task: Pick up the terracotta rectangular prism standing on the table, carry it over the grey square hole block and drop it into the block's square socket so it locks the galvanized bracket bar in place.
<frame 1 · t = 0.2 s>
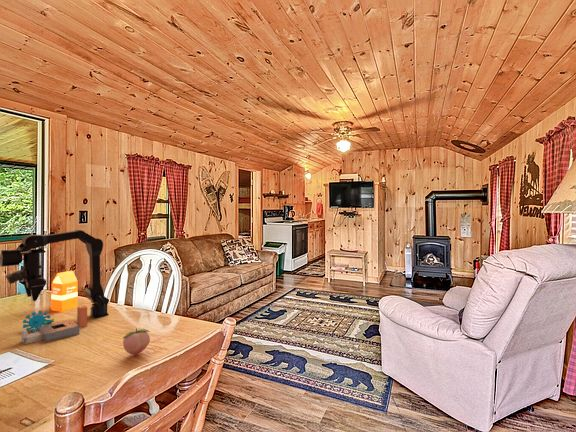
hand: (31, 298, 138), 14 cm above the table, tool pointing down, fingers open, 9 cm apart
orange juice: (64, 309, 169), on the table
gear: (38, 330, 141), on the table
terracotta rectangular prism: (82, 326, 145), on the table
grey square hole block: (58, 334, 136), on the table
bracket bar: (32, 340, 129), on the table
decorative fruit: (135, 354, 119), on the table
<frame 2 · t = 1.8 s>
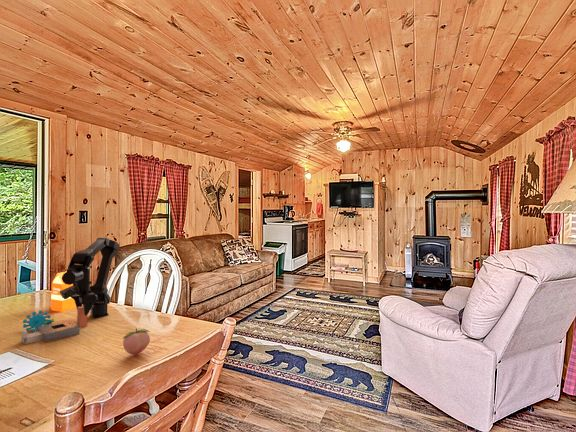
hand: (82, 312, 145), 6 cm above the table, tool pointing down, fingers open, 9 cm apart
nothing on the table moved.
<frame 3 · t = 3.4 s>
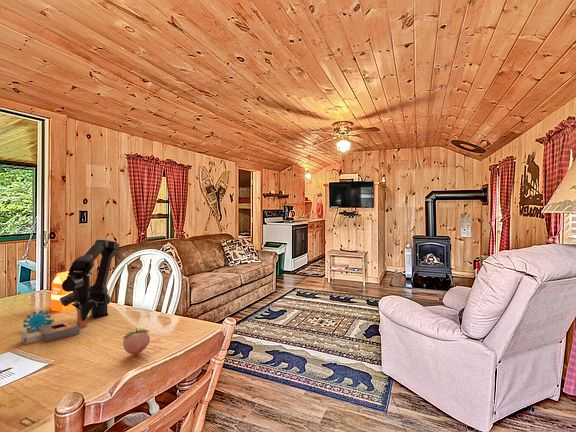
hand: (82, 319, 145), 3 cm above the table, tool pointing down, fingers closed on terracotta rectangular prism, 3 cm apart
terracotta rectangular prism: (82, 326, 145), on the table, touching gripper
everything else where it was.
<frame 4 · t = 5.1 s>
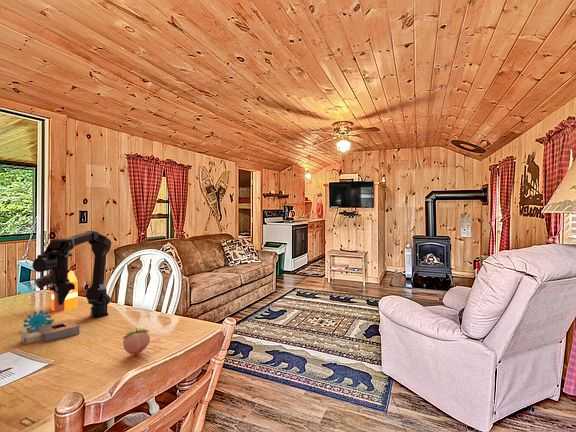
hand: (59, 303, 135), 13 cm above the table, tool pointing down, fingers closed on terracotta rectangular prism, 3 cm apart
terracotta rectangular prism: (59, 310, 135), point 10 cm above the table, touching gripper
everything else where it was.
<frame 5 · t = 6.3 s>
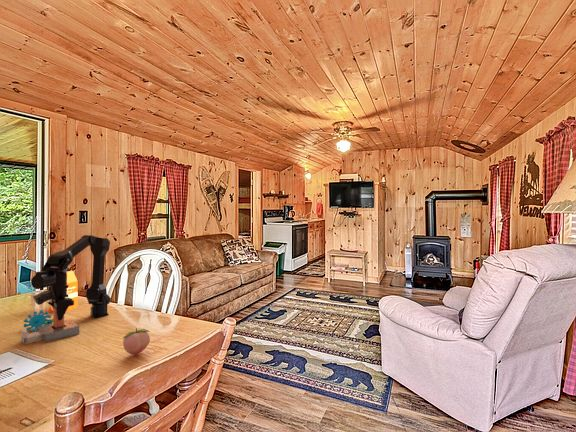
hand: (58, 319, 135), 7 cm above the table, tool pointing down, fingers closed on terracotta rectangular prism, 3 cm apart
terracotta rectangular prism: (58, 326, 136), point 4 cm above the table, touching gripper
everything else where it was.
when the fingers open (6 cm above the table, at t = 7.0 s): terracotta rectangular prism drops 3 cm, resting in grey square hole block.
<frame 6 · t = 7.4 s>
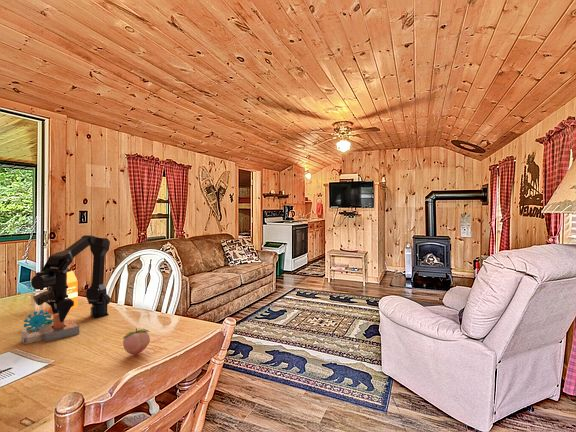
hand: (58, 319, 135), 6 cm above the table, tool pointing down, fingers open, 8 cm apart
terracotta rectangular prism: (58, 334, 136), resting in grey square hole block
everything else where it was.
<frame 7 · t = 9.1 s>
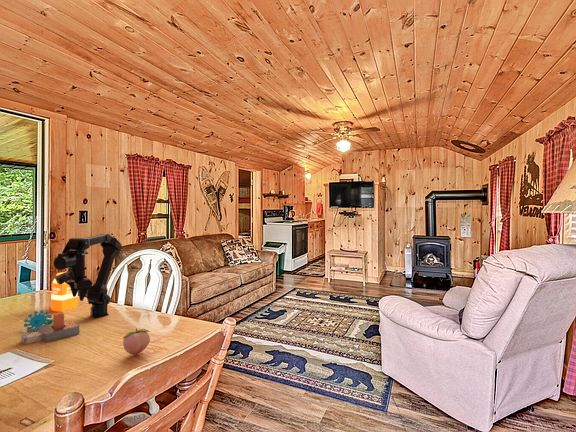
hand: (77, 298, 145), 13 cm above the table, tool pointing down, fingers open, 9 cm apart
nothing on the table moved.
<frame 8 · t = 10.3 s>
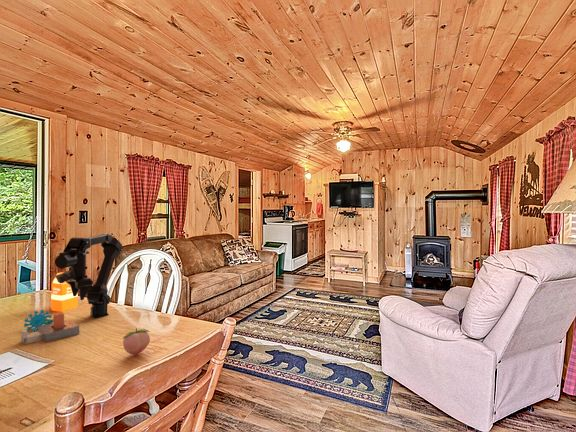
hand: (78, 298, 145), 13 cm above the table, tool pointing down, fingers open, 9 cm apart
at the end: terracotta rectangular prism 0.0 cm off-centre on the grey square hole block, point 0.0 cm above the grey square hole block's base; terracotta rectangular prism tilted 0°; the gripper is holding nothing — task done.
